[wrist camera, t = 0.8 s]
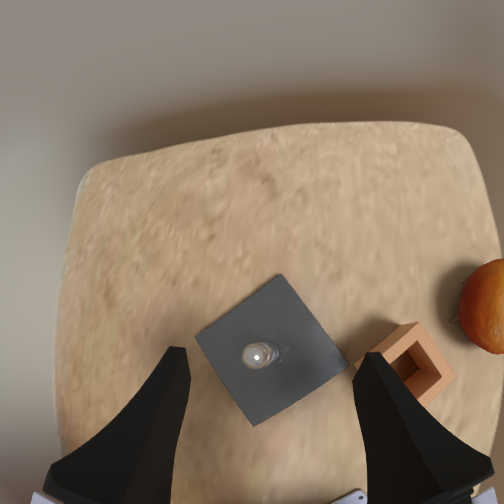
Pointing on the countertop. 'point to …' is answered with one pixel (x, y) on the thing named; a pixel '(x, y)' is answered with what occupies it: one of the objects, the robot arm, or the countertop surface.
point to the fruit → (484, 307)
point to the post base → (293, 343)
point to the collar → (417, 360)
